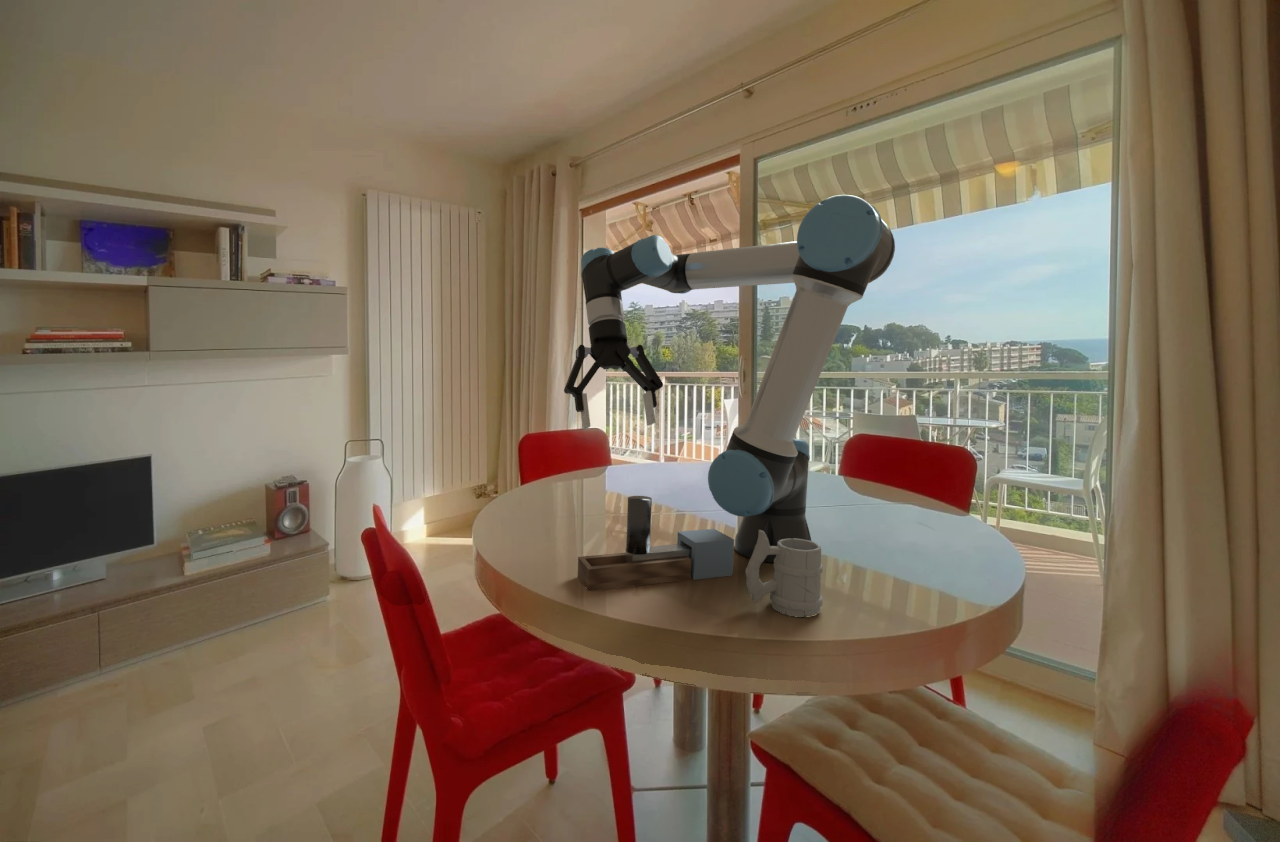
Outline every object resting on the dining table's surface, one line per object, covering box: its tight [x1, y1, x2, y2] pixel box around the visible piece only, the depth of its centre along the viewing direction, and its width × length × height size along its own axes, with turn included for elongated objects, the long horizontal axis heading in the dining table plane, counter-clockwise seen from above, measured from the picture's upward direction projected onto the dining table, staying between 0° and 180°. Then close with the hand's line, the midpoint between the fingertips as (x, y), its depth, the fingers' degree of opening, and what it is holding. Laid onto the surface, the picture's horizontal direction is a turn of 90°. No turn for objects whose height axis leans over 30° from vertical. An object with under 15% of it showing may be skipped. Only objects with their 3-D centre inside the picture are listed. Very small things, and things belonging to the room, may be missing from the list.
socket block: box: [676, 528, 735, 581], centre depth 99 cm, size 8×7×6 cm
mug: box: [745, 530, 824, 618], centre depth 83 cm, size 8×12×12 cm, turn 98°
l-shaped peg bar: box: [625, 495, 692, 563], centre depth 96 cm, size 16×4×12 cm, turn 112°
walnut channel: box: [577, 552, 692, 592], centre depth 94 cm, size 18×6×4 cm, turn 112°
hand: (619, 426), depth 110 cm, fingers open, 13 cm apart
